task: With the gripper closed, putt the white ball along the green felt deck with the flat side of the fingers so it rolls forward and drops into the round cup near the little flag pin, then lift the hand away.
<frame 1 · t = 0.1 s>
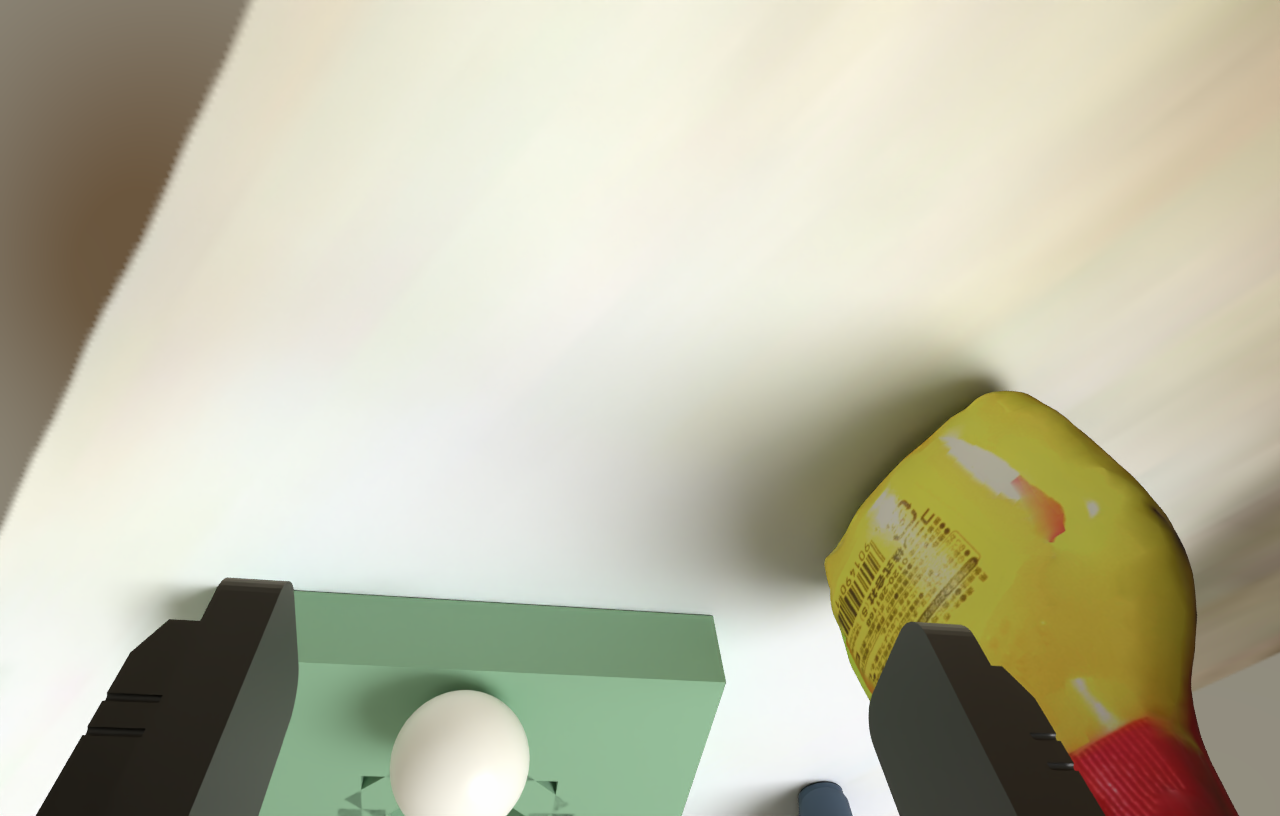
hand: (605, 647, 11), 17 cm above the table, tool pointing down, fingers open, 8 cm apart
vaping device: (818, 803, 45), on the table
ball: (460, 761, 30), point 6 cm above the table, touching green
green: (467, 723, 38), on the table
bottle: (925, 480, 33), on the table
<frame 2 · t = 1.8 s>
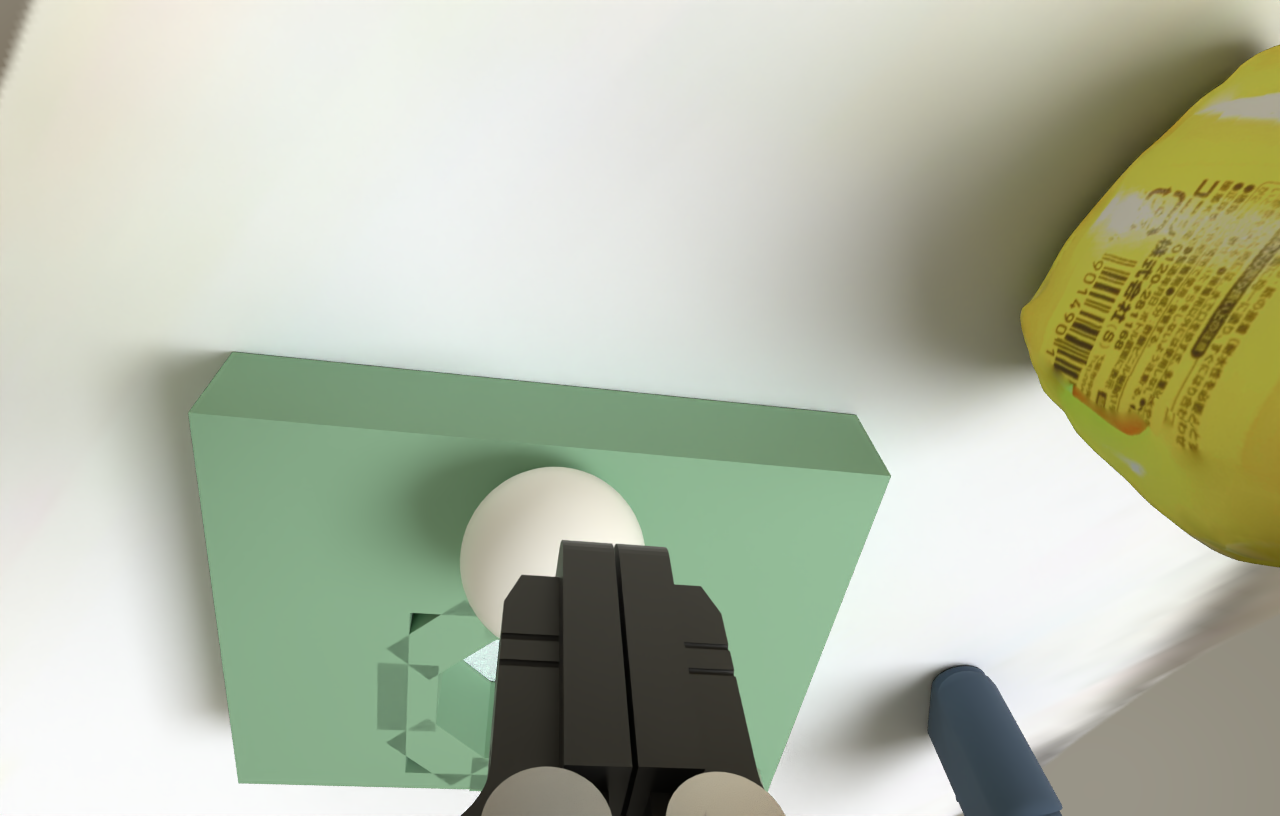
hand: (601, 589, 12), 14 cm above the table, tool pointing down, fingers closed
vaping device: (953, 697, 37), on the table
ball: (553, 558, 22), point 6 cm above the table, touching green
green: (537, 571, 31), on the table
bottle: (1147, 212, 25), on the table
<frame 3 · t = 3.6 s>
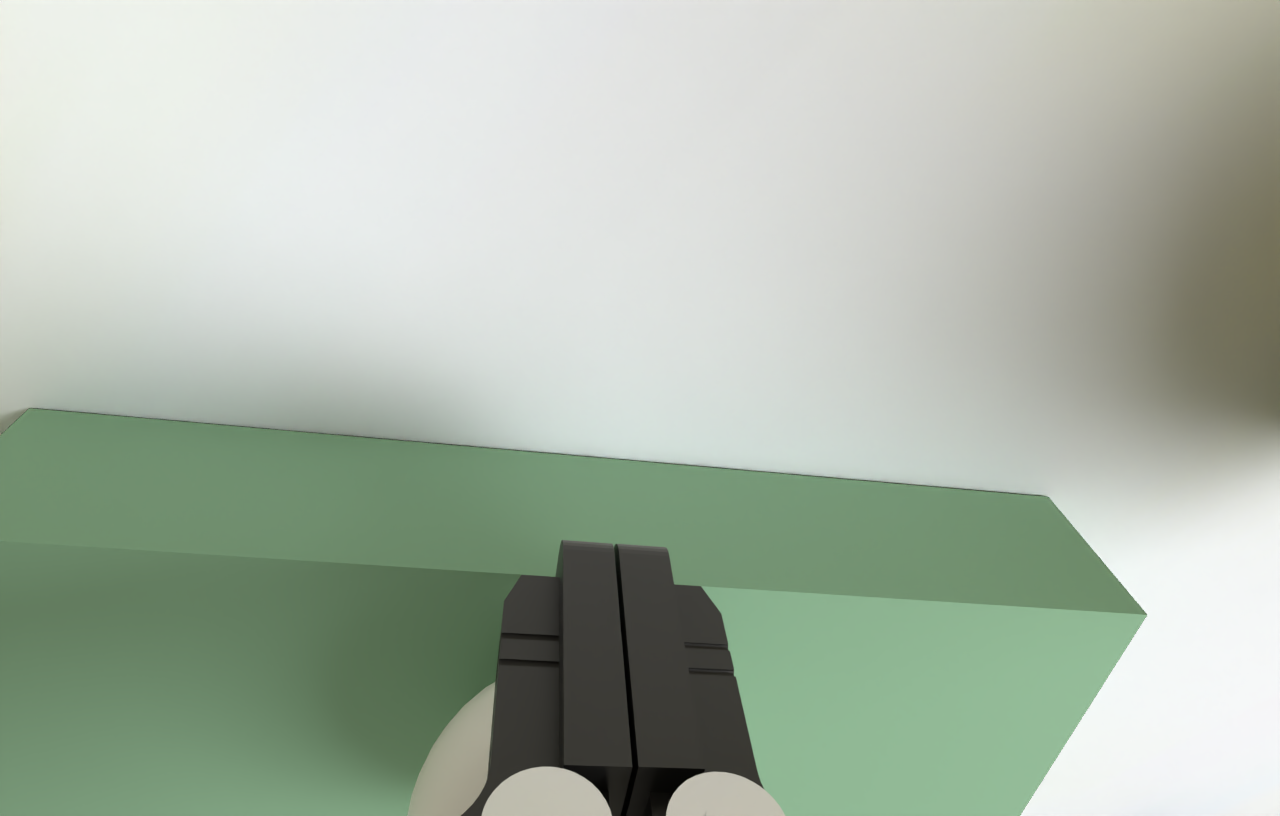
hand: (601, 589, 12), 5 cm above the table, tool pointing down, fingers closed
green: (544, 726, 20), on the table
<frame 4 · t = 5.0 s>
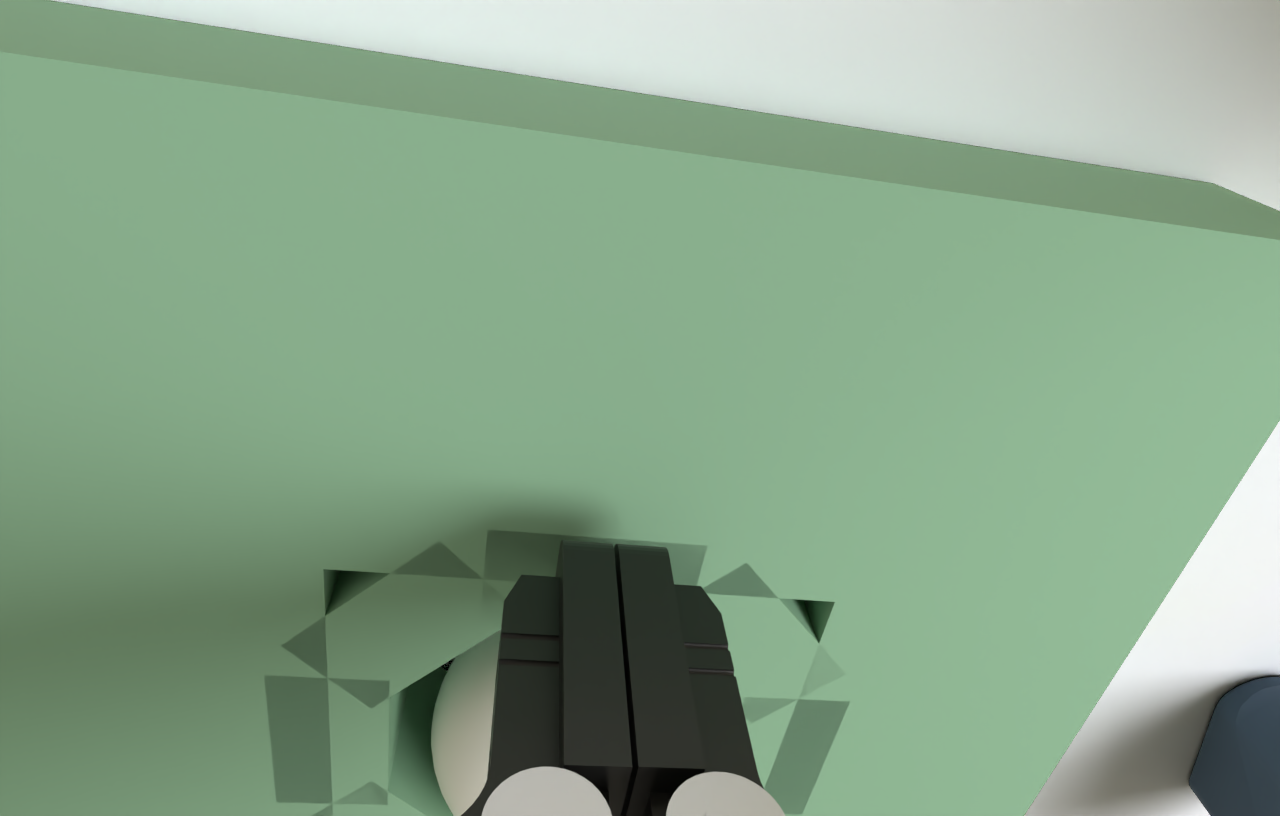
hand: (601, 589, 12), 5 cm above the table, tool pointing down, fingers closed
vaping device: (1237, 727, 23), on the table
ball: (561, 726, 16), point 2 cm above the table, tilted 109°
green: (578, 505, 17), on the table
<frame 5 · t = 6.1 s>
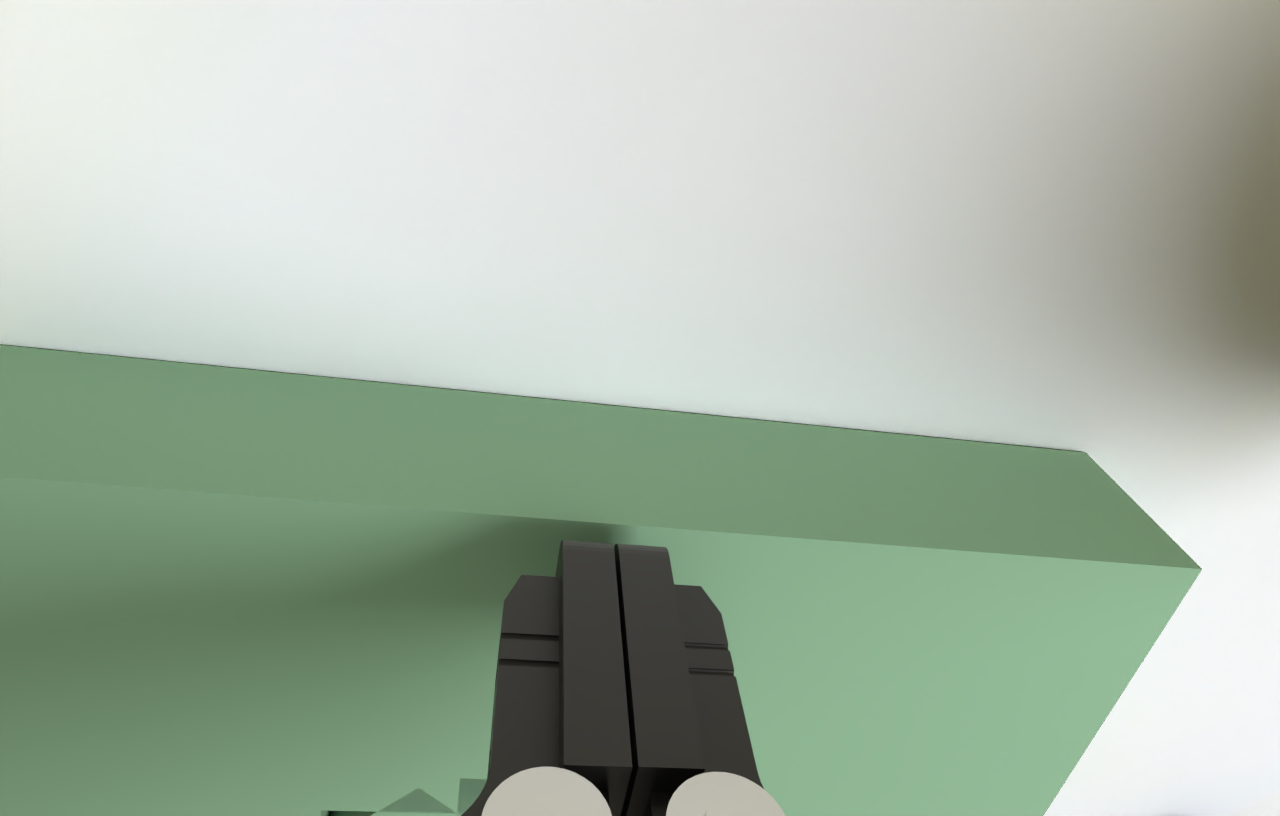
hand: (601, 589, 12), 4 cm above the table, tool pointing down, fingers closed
green: (545, 703, 19), on the table
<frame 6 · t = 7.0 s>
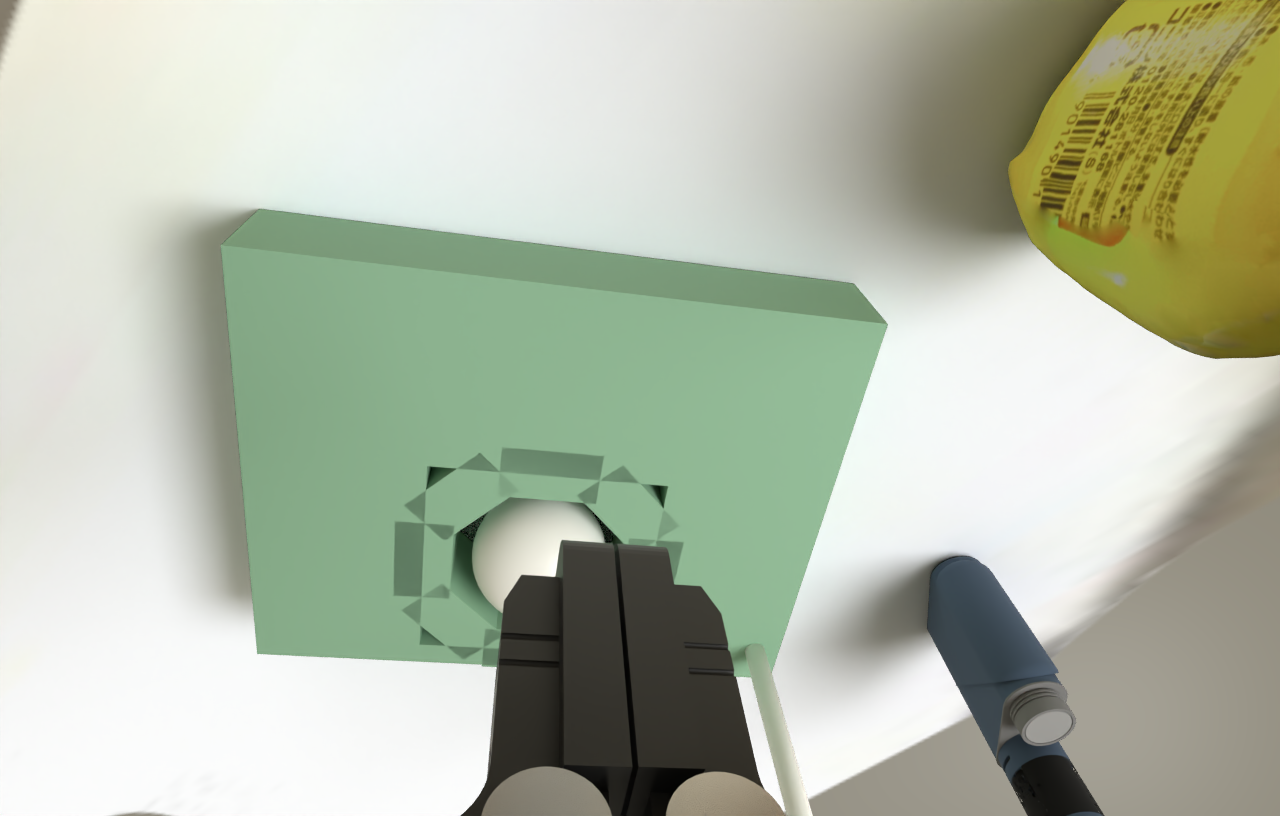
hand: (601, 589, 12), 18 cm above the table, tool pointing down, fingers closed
vaping device: (951, 592, 38), on the table
ball: (539, 554, 31), point 2 cm above the table, tilted 118°
green: (547, 447, 32), on the table
bottle: (1126, 75, 27), on the table
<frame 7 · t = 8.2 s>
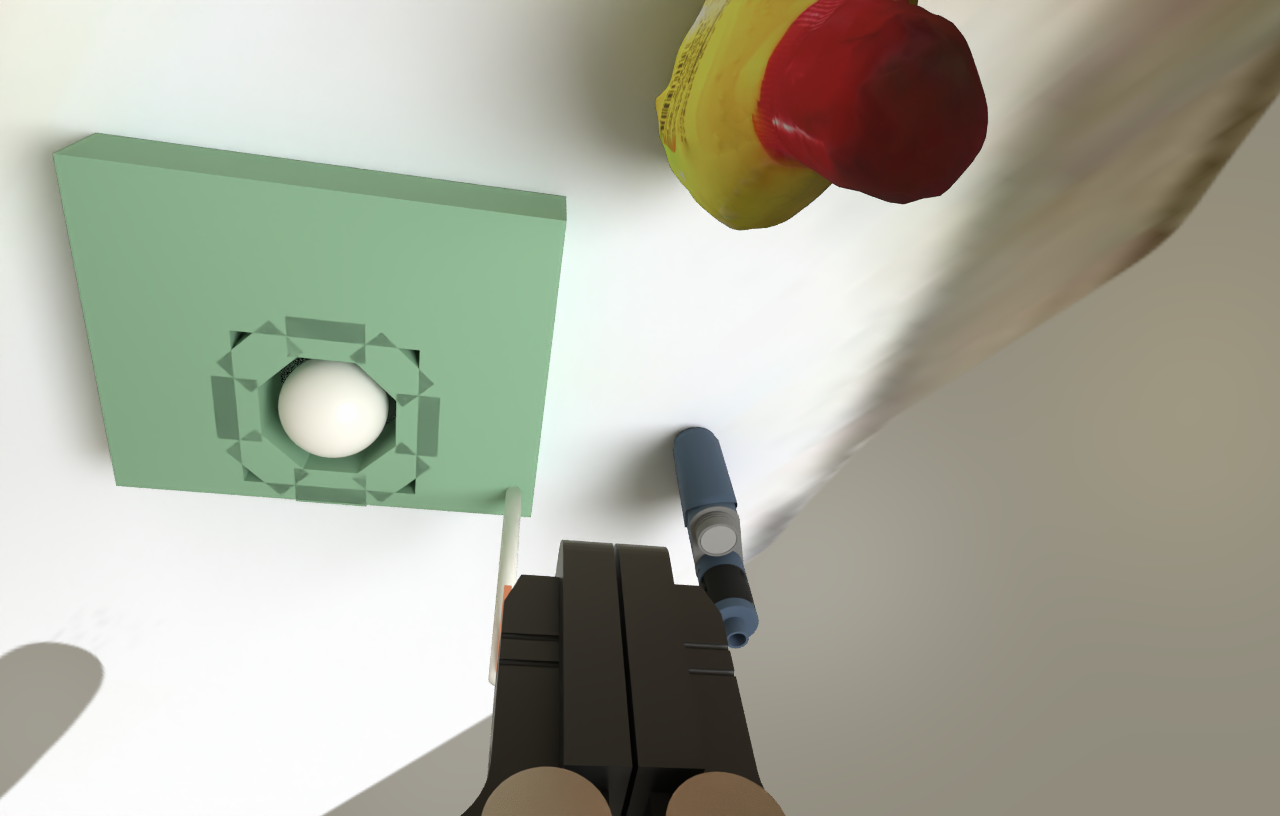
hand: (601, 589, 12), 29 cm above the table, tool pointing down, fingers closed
vaping device: (696, 460, 47), on the table
ball: (334, 406, 40), point 2 cm above the table, tilted 123°
green: (343, 328, 41), on the table
bottle: (750, 34, 35), on the table
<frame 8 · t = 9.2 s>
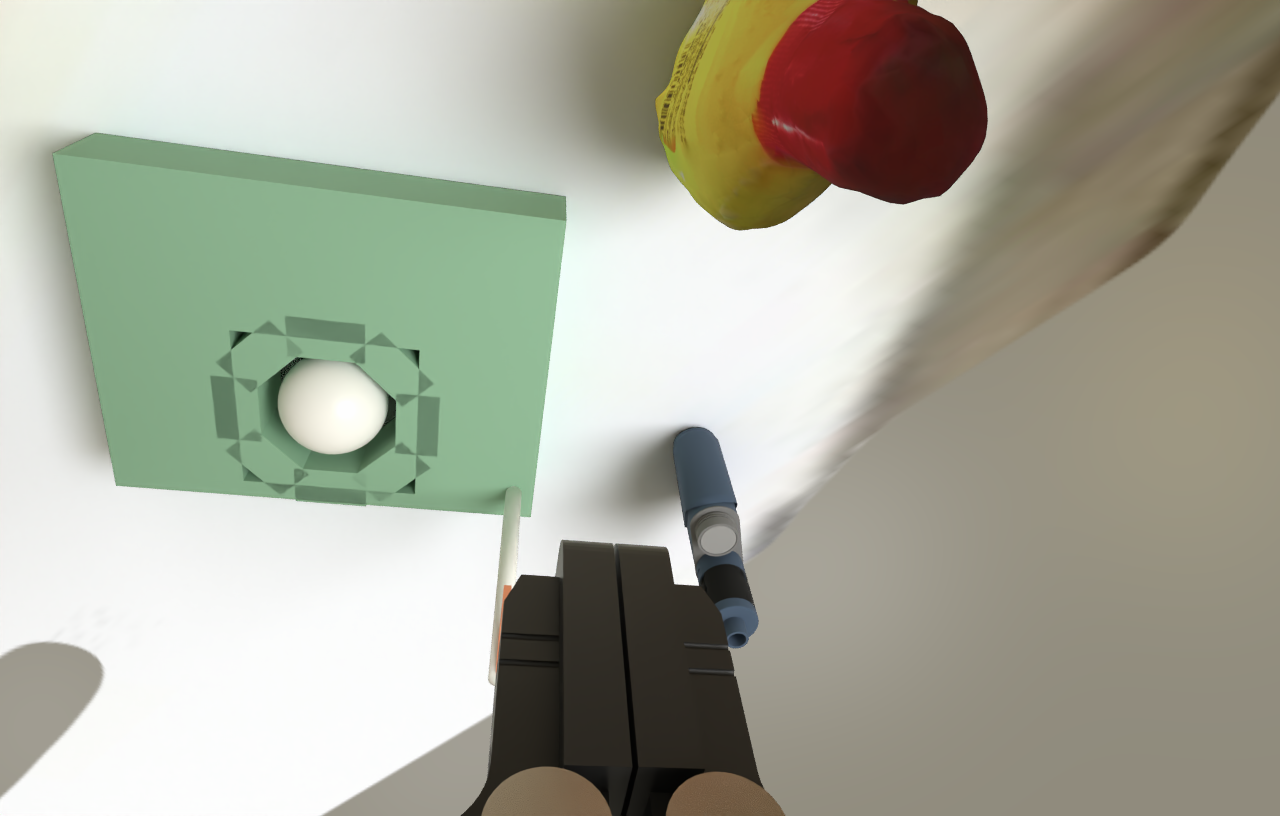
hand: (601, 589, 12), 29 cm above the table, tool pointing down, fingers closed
vaping device: (696, 460, 47), on the table
ball: (334, 402, 40), point 2 cm above the table, tilted 128°
green: (343, 328, 41), on the table
bottle: (750, 34, 35), on the table
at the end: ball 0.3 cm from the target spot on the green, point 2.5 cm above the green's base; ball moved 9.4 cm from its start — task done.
